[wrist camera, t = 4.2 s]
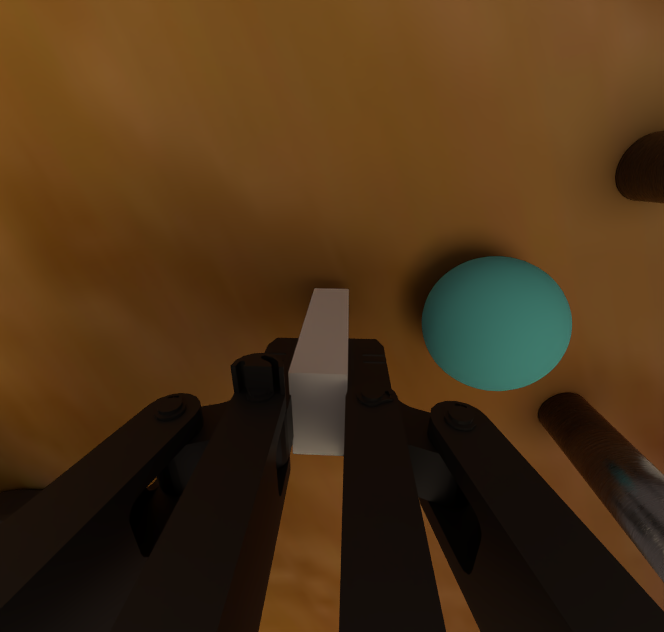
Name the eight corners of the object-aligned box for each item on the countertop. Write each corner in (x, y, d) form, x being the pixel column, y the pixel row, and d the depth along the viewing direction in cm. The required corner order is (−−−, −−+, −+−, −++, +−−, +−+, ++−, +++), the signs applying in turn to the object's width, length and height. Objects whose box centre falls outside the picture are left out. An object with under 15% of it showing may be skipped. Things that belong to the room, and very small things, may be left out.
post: (533, 429, 19) (673, 622, 11) (545, 392, 18) (710, 575, 10) (579, 430, 19) (755, 627, 11) (593, 393, 18) (800, 579, 10)
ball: (589, 411, 12) (504, 343, 17) (634, 271, 10) (521, 239, 15) (449, 429, 12) (403, 354, 17) (465, 287, 10) (406, 249, 15)
